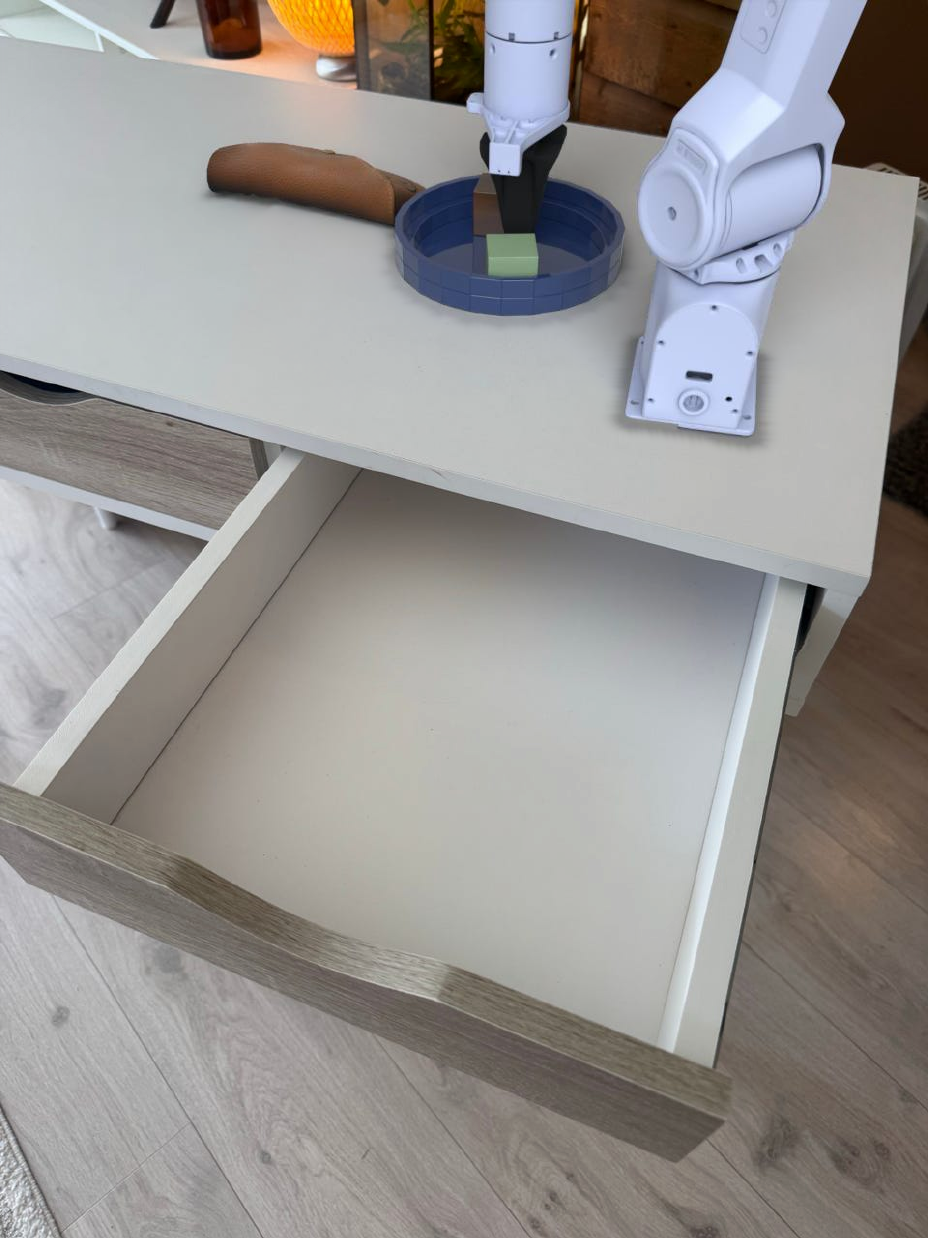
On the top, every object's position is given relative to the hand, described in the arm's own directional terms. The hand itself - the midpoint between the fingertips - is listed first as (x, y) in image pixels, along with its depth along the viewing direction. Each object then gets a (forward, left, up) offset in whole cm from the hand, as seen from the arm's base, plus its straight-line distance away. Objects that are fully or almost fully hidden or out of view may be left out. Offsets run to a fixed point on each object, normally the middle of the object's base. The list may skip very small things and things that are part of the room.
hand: (519, 233), depth 71 cm
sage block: (-5, 0, -2) cm, 5 cm away
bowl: (0, +1, -2) cm, 3 cm away
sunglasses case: (+7, +18, -3) cm, 20 cm away
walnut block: (+4, +2, -2) cm, 5 cm away
